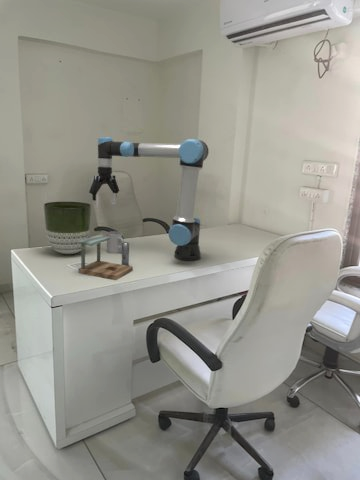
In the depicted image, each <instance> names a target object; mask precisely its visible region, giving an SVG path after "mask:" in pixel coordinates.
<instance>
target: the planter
mask: <svg viewBox="0 0 360 480" xmlns="http://www.w3.org/2000/svg"><path fill="white" fill-rule="evenodd" d="M43 213H44V225H45V234H46V235H45V236H46V240H47V242H48V245H49V246H50V247H51V248H52V249H53V250H54V251H55V252H57V253H59V254H63V255H74V254H77V253H80V252H81V244H78V241H81V240H84V239H87V238H90V235H91V233H90V232H91V221H92V219H91V216H92V204H90V203H88V202H81V201H80V202H79V201H50V202H49V201H48V202H45V203H44V204H43ZM86 246H87V245H85V247H86Z"/></svg>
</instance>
